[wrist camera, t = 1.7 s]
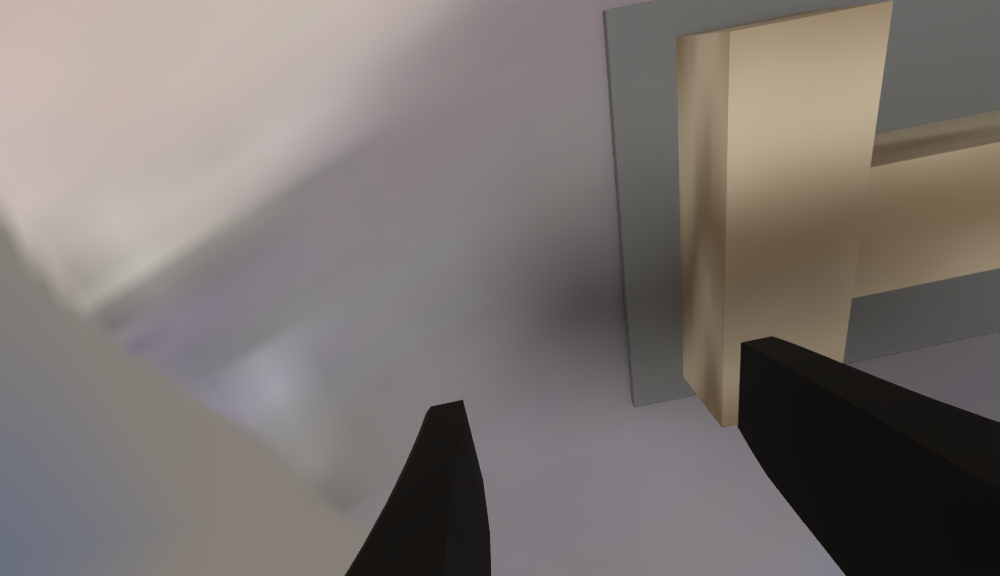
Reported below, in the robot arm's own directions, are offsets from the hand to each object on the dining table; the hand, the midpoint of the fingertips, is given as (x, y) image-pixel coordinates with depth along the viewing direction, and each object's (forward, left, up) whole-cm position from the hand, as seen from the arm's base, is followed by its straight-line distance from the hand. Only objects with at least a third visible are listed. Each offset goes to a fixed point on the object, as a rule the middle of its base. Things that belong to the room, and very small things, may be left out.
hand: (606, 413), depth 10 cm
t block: (0, -11, -8) cm, 14 cm away
